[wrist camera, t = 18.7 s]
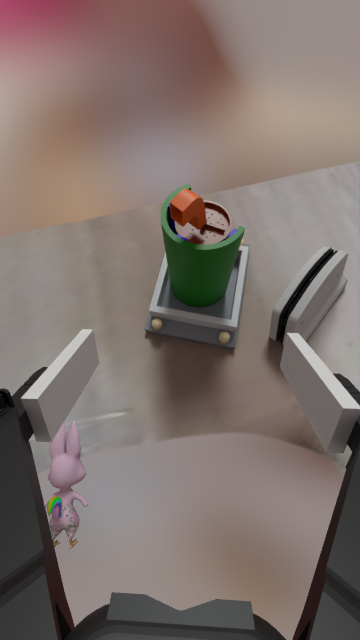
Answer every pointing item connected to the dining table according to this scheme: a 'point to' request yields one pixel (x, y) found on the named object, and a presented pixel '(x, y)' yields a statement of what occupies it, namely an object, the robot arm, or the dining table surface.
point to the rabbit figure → (65, 483)
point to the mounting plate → (199, 309)
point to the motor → (198, 247)
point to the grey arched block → (309, 295)
